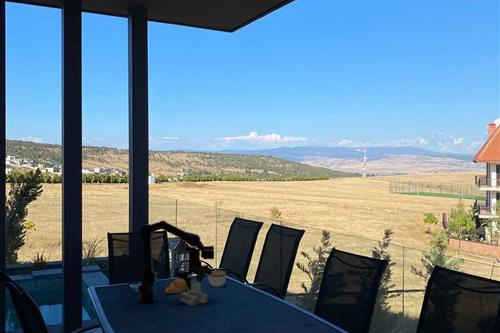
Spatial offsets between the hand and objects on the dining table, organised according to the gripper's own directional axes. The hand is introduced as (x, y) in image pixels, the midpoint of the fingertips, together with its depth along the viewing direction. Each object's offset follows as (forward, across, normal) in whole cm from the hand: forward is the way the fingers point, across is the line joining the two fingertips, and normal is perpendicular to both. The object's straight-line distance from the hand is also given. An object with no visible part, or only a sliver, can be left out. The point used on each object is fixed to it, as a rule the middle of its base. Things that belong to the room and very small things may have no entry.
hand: (194, 289), depth 241 cm
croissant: (+7, +4, +24) cm, 25 cm away
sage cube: (+1, 0, 0) cm, 1 cm away
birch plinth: (+6, 0, 0) cm, 6 cm away
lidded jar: (+6, +28, +20) cm, 35 cm away
